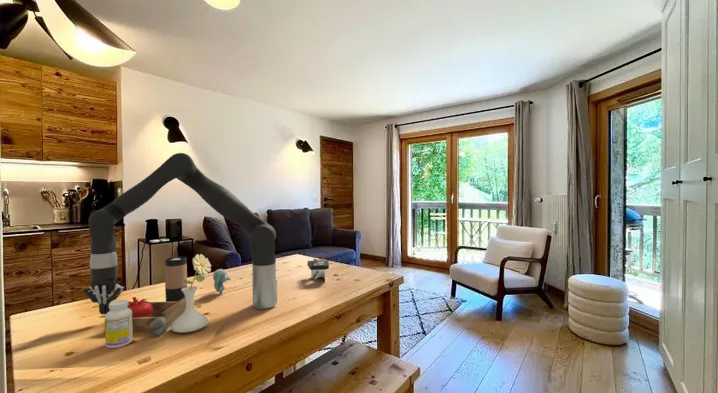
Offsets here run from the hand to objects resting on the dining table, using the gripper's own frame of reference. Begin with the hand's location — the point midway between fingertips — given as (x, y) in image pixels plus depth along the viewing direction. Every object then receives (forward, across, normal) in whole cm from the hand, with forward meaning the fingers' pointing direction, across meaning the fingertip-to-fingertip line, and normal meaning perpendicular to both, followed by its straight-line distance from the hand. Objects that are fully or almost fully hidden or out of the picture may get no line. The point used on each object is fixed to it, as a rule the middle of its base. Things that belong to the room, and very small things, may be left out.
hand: (104, 313), depth 112 cm
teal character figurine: (+4, -31, -28) cm, 42 cm away
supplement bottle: (+4, -16, +16) cm, 23 cm away
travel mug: (+4, -18, -14) cm, 23 cm away
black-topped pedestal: (+4, -73, -45) cm, 86 cm away
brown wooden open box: (+4, -15, 0) cm, 15 cm away
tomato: (+4, -11, 0) cm, 11 cm away
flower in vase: (+4, -33, +6) cm, 34 cm away
